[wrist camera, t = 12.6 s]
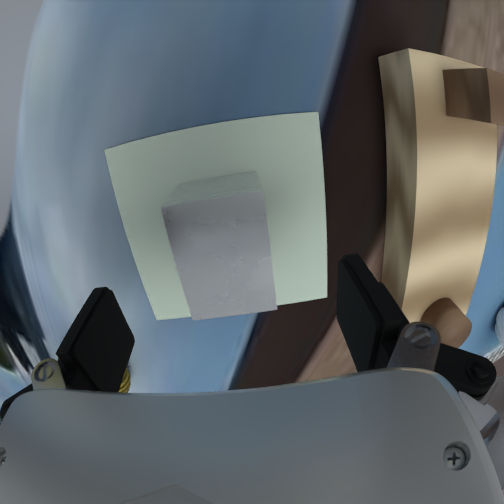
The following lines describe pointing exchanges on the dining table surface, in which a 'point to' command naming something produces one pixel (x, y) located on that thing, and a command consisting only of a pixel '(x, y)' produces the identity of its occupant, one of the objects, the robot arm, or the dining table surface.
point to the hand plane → (438, 183)
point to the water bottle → (500, 326)
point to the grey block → (221, 245)
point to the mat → (220, 164)
